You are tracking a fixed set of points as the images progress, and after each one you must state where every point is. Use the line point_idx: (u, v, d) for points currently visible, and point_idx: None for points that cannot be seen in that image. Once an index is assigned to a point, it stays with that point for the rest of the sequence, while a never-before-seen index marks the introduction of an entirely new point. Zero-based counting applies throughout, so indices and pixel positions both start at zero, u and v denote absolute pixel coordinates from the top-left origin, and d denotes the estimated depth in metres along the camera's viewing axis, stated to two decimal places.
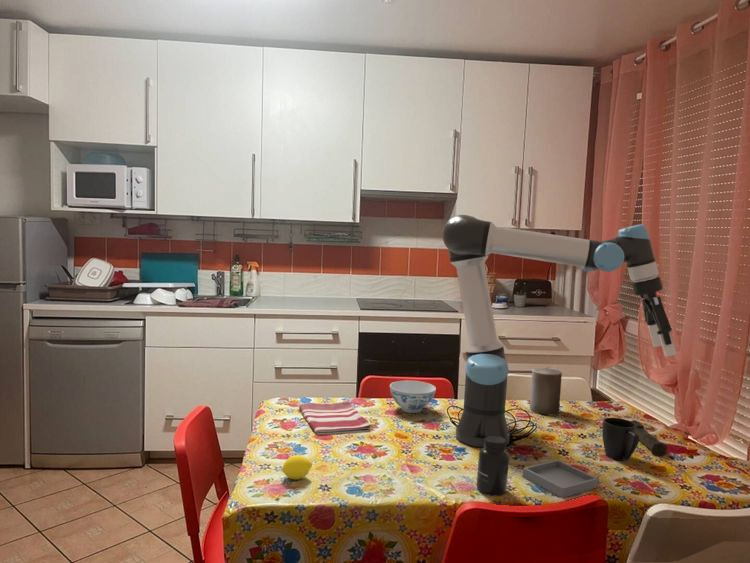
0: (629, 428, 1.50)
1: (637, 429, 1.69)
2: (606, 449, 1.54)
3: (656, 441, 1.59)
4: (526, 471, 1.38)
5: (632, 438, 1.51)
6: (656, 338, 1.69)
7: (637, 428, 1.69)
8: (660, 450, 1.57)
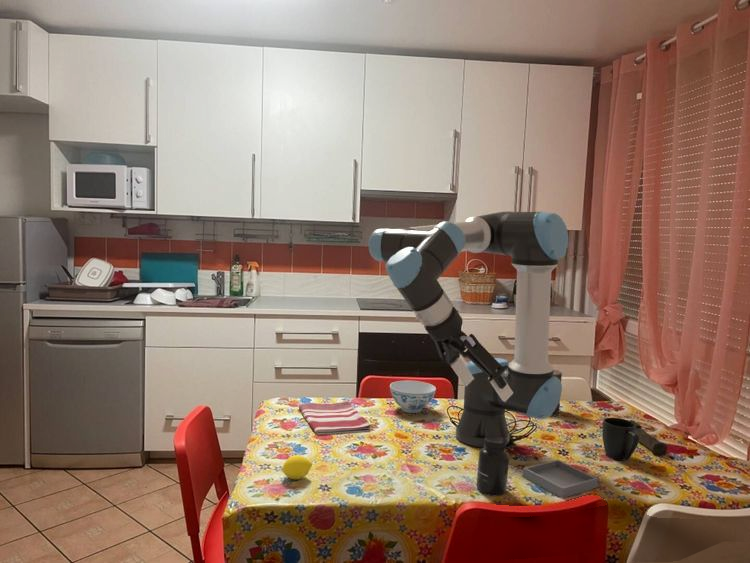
0: (629, 428, 1.50)
1: None
2: (606, 449, 1.54)
3: (656, 441, 1.59)
4: (526, 471, 1.38)
5: (632, 438, 1.51)
6: None
7: None
8: (661, 450, 1.57)
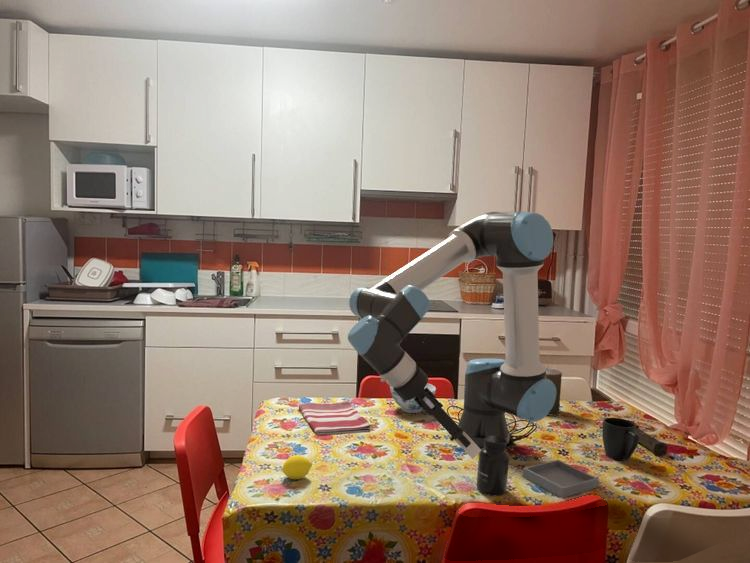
0: (629, 428, 1.50)
1: None
2: (606, 449, 1.54)
3: (656, 441, 1.59)
4: (526, 471, 1.38)
5: (632, 438, 1.51)
6: None
7: None
8: (661, 450, 1.57)
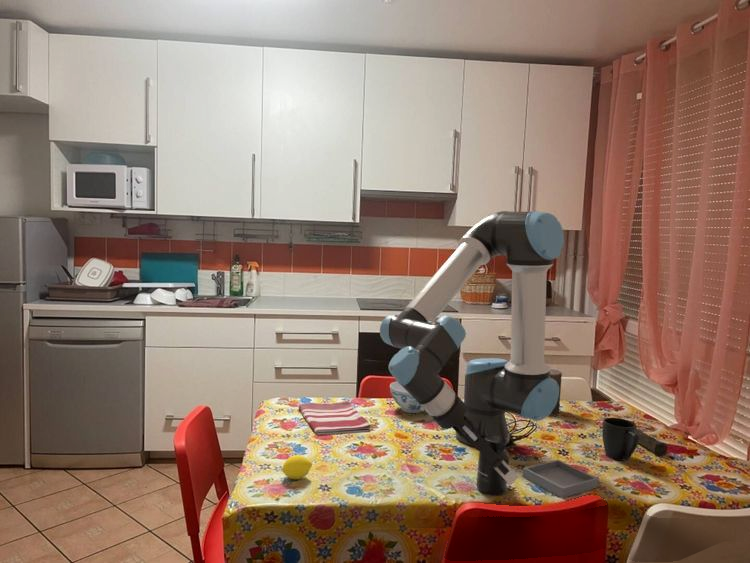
0: (629, 428, 1.50)
1: None
2: (606, 449, 1.54)
3: (656, 441, 1.59)
4: (526, 471, 1.38)
5: (632, 438, 1.51)
6: None
7: None
8: (662, 450, 1.57)
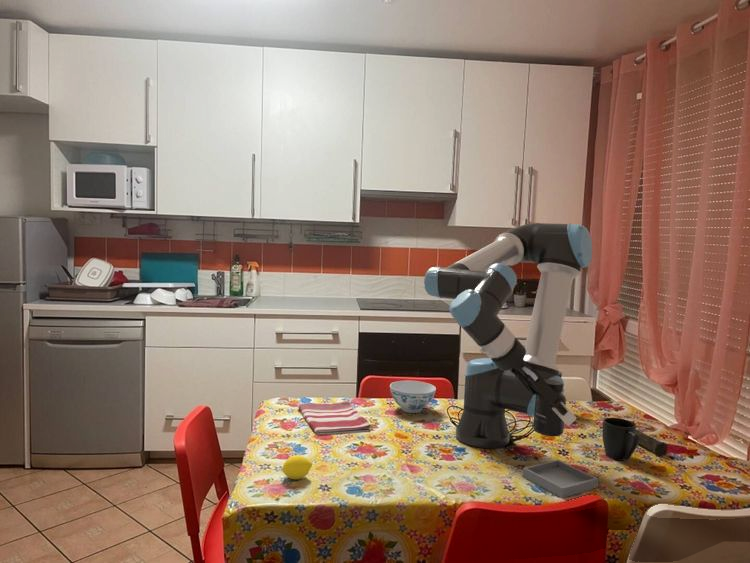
0: (629, 428, 1.50)
1: None
2: (606, 449, 1.54)
3: (656, 441, 1.59)
4: (526, 471, 1.38)
5: (632, 438, 1.51)
6: None
7: None
8: (662, 450, 1.57)
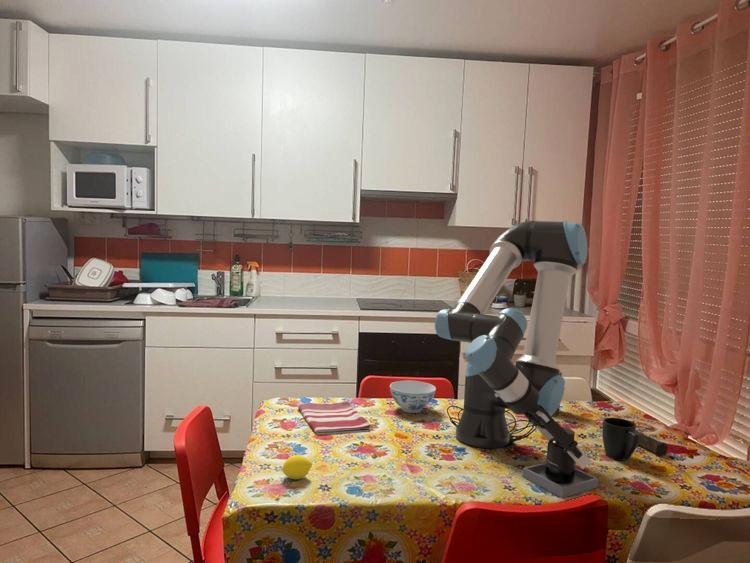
0: (629, 428, 1.50)
1: None
2: (606, 449, 1.54)
3: (656, 441, 1.59)
4: (526, 471, 1.38)
5: (632, 438, 1.51)
6: None
7: None
8: (663, 450, 1.57)
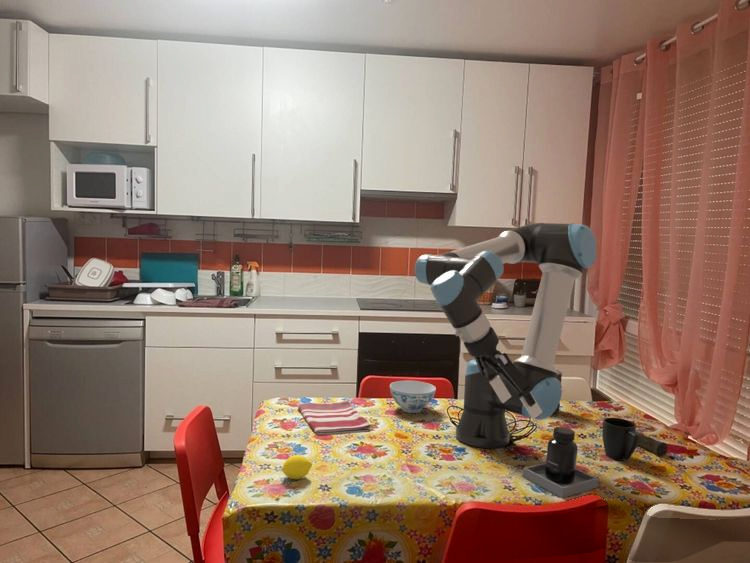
0: (629, 428, 1.50)
1: None
2: (606, 449, 1.54)
3: (656, 441, 1.59)
4: (526, 471, 1.38)
5: (632, 438, 1.51)
6: None
7: None
8: (663, 450, 1.57)
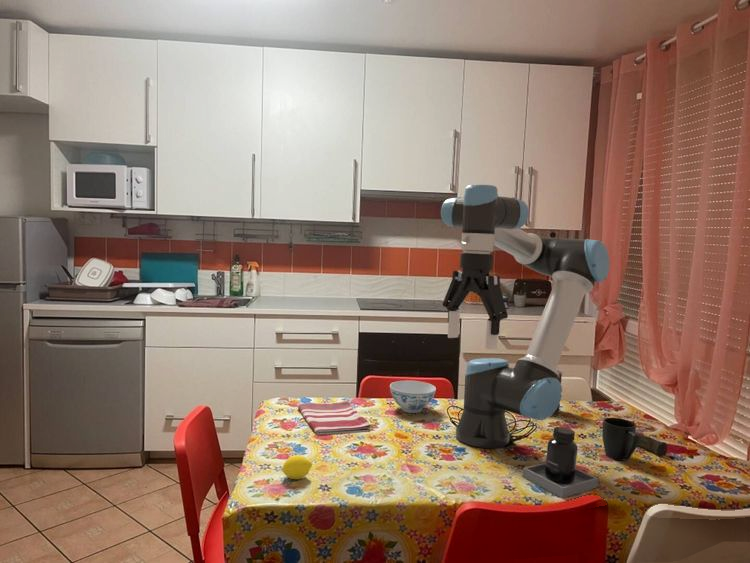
0: (629, 428, 1.50)
1: None
2: (606, 449, 1.54)
3: (656, 441, 1.59)
4: (526, 471, 1.38)
5: (632, 438, 1.51)
6: None
7: None
8: (664, 450, 1.57)
